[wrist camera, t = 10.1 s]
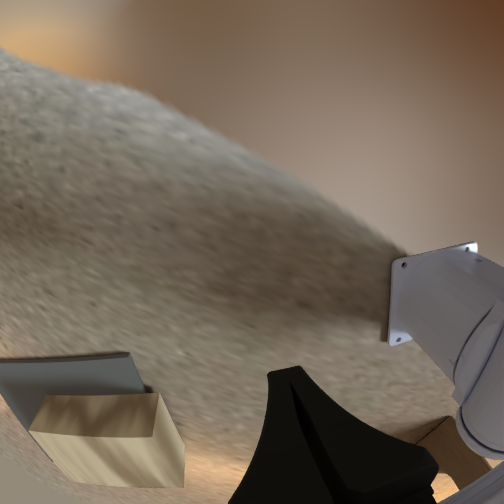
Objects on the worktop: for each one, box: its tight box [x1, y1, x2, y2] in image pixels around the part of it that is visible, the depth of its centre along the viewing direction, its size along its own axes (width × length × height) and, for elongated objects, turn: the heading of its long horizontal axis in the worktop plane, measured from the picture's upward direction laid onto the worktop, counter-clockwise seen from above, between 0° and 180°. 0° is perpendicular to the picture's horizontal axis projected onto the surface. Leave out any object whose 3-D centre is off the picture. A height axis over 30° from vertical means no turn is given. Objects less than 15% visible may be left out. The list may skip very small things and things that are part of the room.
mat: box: [0, 353, 147, 462], centre depth 24 cm, size 18×16×1 cm
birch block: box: [28, 392, 185, 488], centre depth 22 cm, size 5×8×12 cm
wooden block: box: [415, 416, 492, 490], centre depth 24 cm, size 9×4×18 cm, turn 136°
